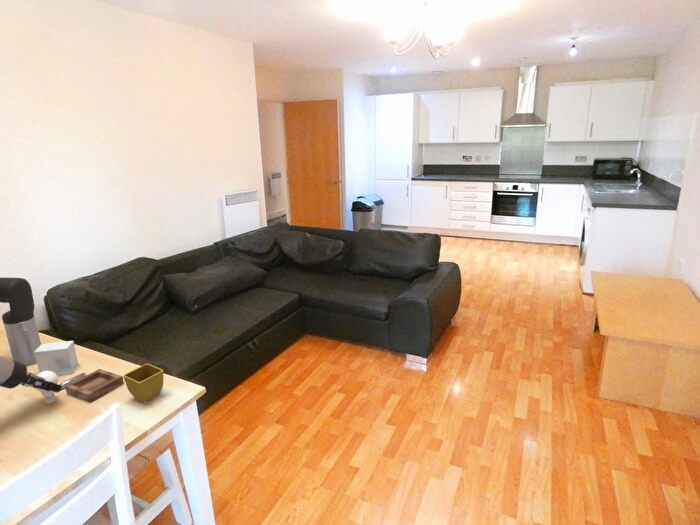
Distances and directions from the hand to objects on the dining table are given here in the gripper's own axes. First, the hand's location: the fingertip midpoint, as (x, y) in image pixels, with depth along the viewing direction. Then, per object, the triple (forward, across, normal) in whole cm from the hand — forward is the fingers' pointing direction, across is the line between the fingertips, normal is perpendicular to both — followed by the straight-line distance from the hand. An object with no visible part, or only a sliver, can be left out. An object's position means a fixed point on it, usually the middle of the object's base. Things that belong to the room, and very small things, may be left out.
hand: (53, 386), depth 134 cm
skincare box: (+12, -17, +4) cm, 21 cm away
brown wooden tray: (+10, +6, +3) cm, 12 cm away
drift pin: (+9, -5, +2) cm, 10 cm away
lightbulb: (+2, 0, -5) cm, 5 cm away
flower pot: (+13, +26, +6) cm, 30 cm away
